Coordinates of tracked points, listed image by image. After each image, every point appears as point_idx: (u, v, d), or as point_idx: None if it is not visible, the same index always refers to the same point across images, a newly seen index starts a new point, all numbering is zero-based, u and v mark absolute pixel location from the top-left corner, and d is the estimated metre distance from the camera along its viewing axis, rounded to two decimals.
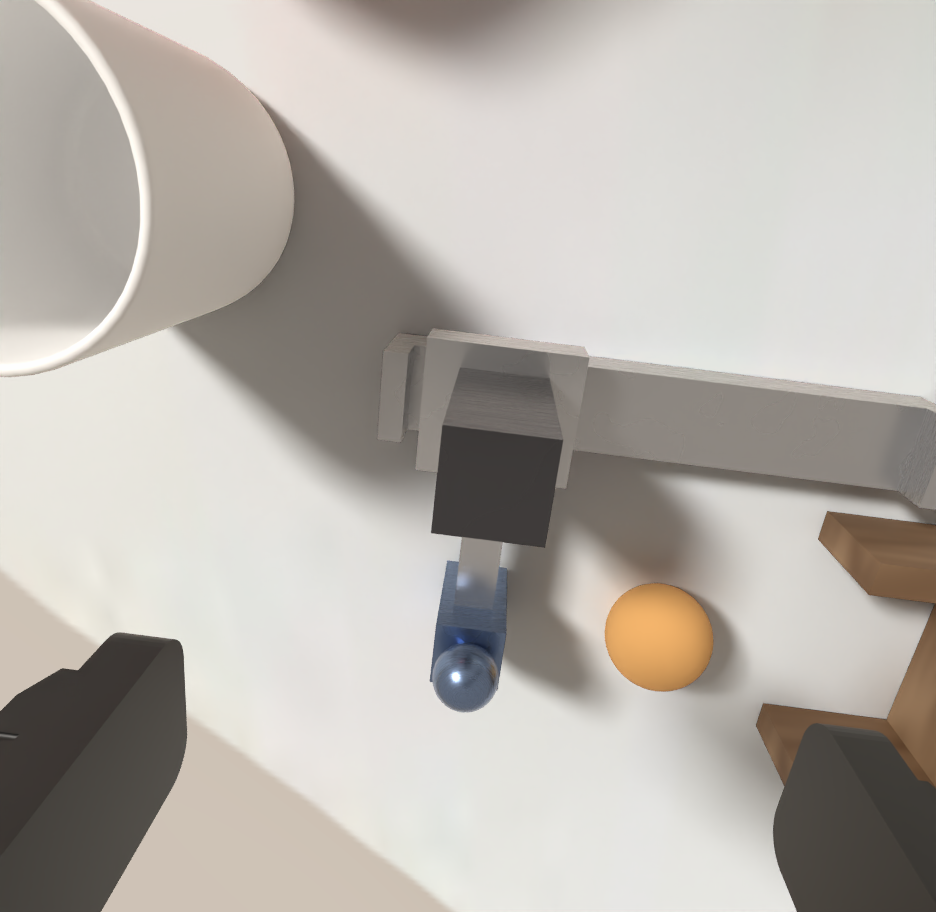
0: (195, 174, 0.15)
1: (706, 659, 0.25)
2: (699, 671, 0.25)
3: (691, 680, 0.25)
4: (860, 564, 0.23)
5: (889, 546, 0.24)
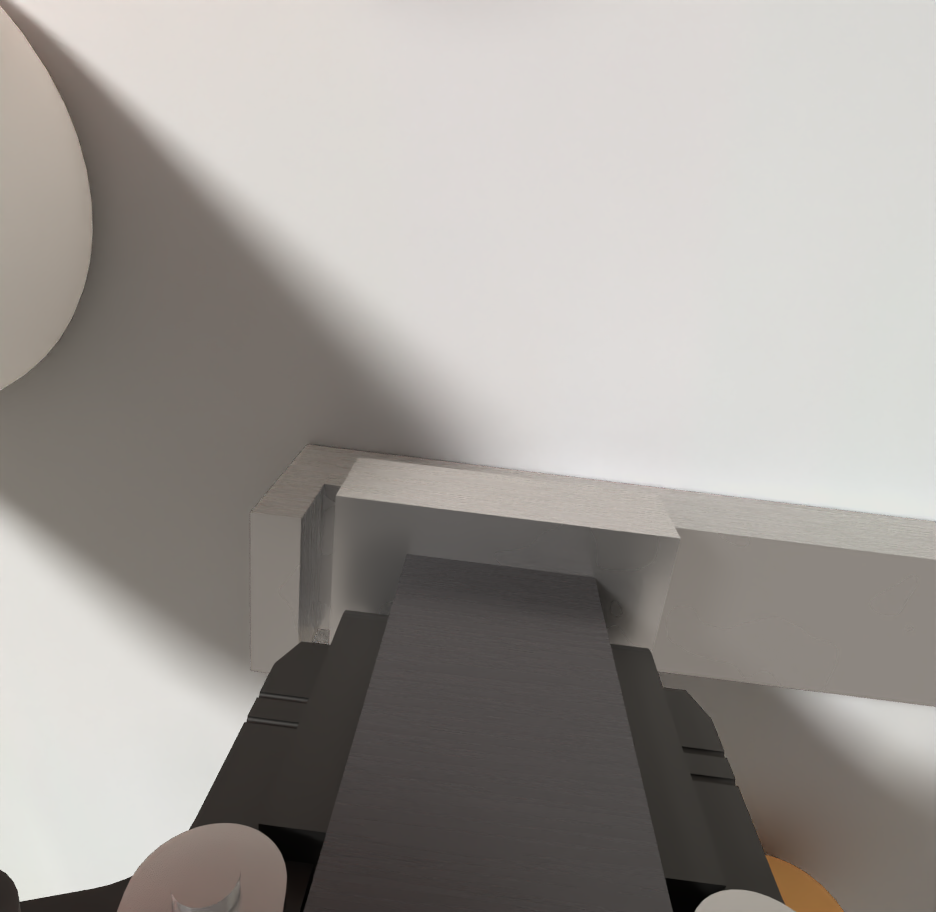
0: None
1: None
2: None
3: None
4: None
5: None
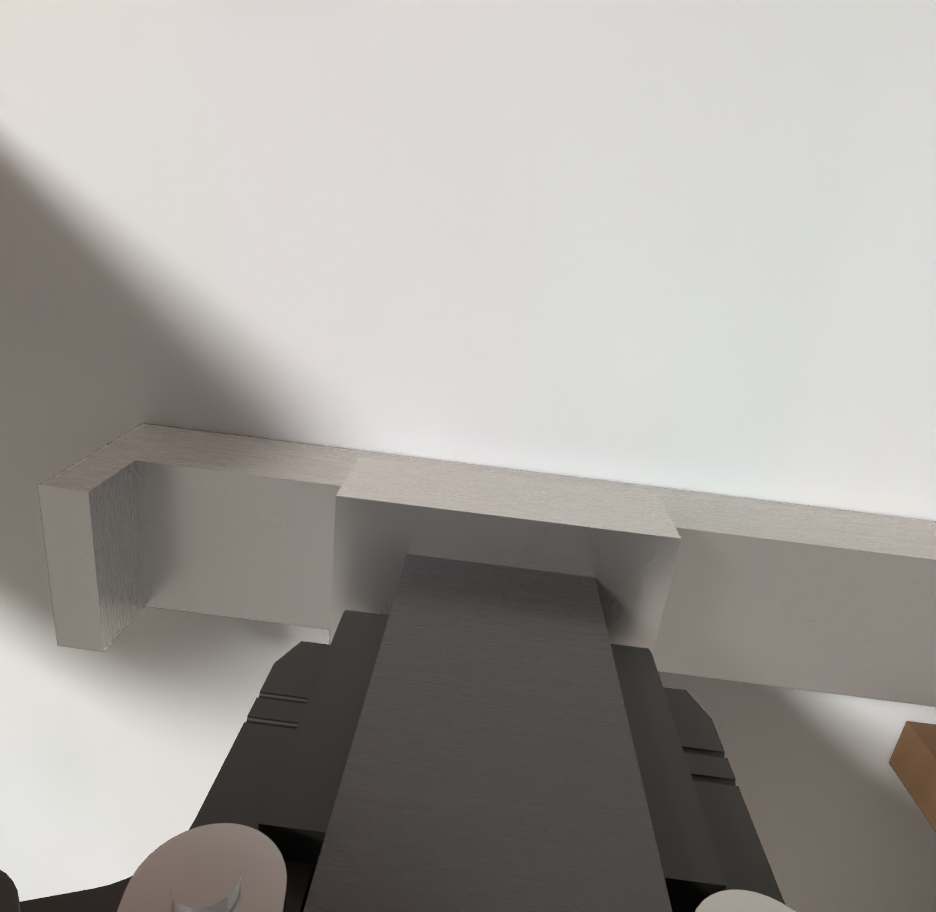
0: None
1: None
2: None
3: None
4: None
5: None
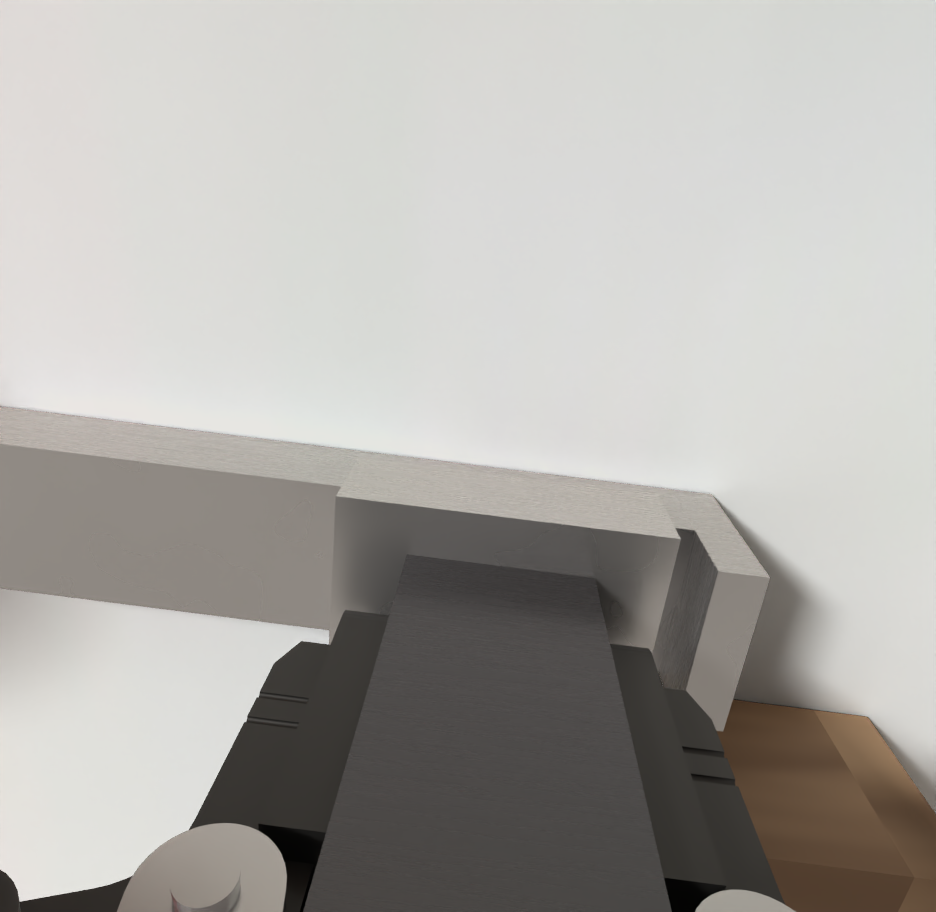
0: None
1: None
2: None
3: None
4: None
5: None
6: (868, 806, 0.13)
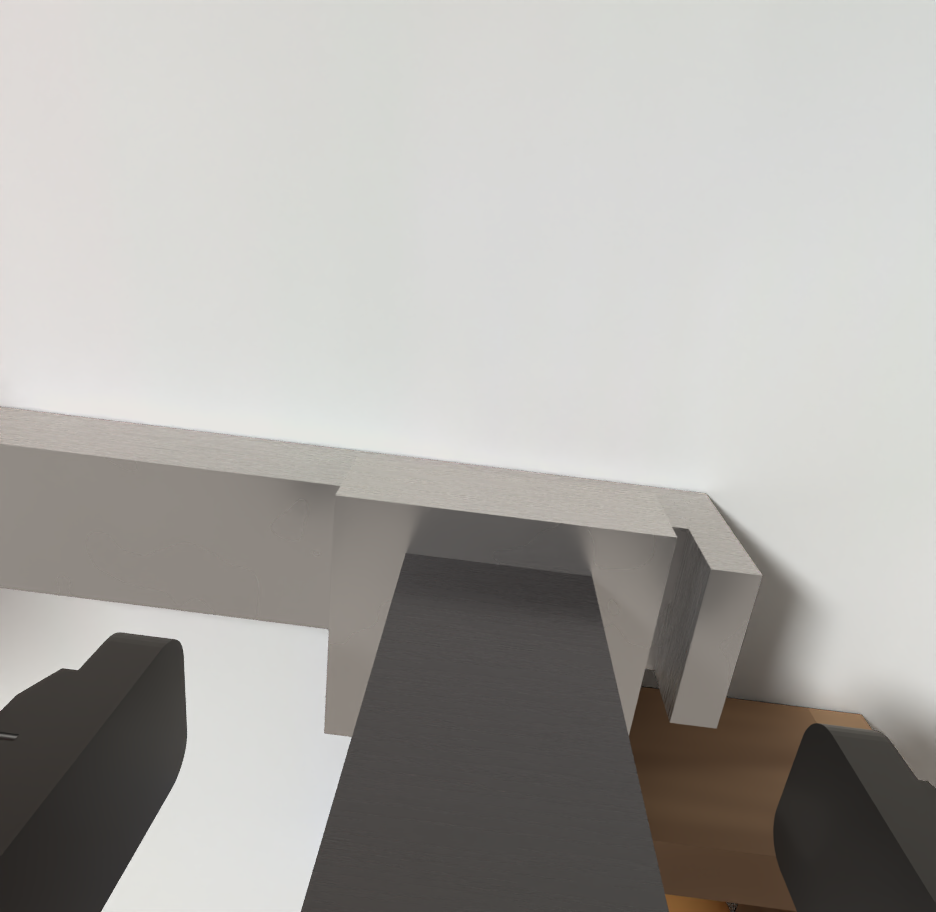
0: None
1: None
2: None
3: None
4: None
5: (638, 773, 0.13)
6: None
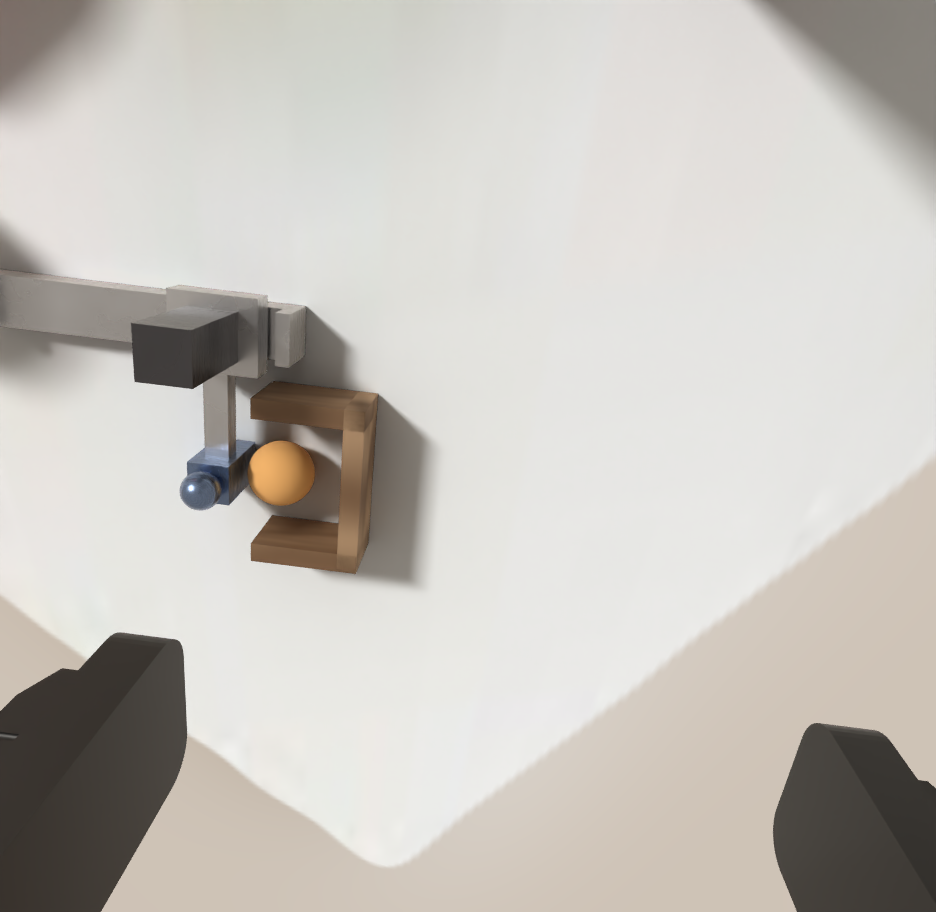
0: None
1: None
2: None
3: None
4: None
5: (277, 393, 0.39)
6: (348, 402, 0.39)
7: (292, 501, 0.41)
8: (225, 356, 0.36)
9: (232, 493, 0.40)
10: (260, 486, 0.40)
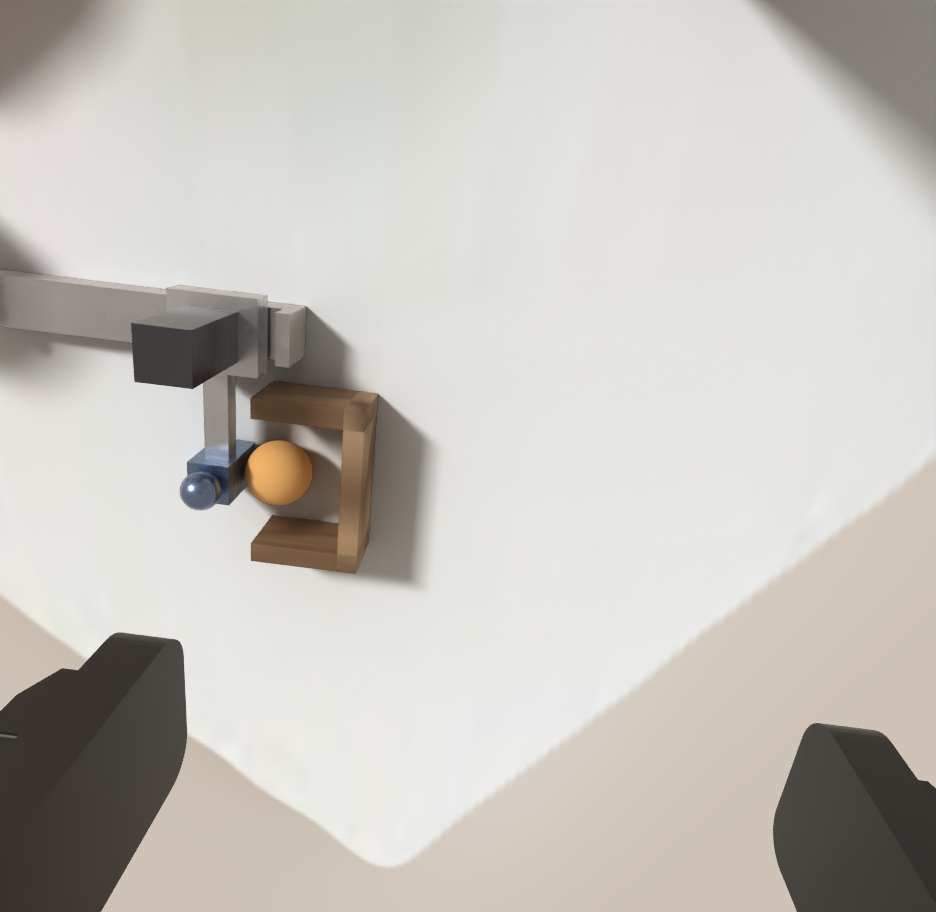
0: None
1: None
2: None
3: None
4: None
5: (277, 393, 0.39)
6: (348, 402, 0.39)
7: (288, 501, 0.41)
8: (225, 356, 0.36)
9: (232, 493, 0.40)
10: (255, 485, 0.40)
